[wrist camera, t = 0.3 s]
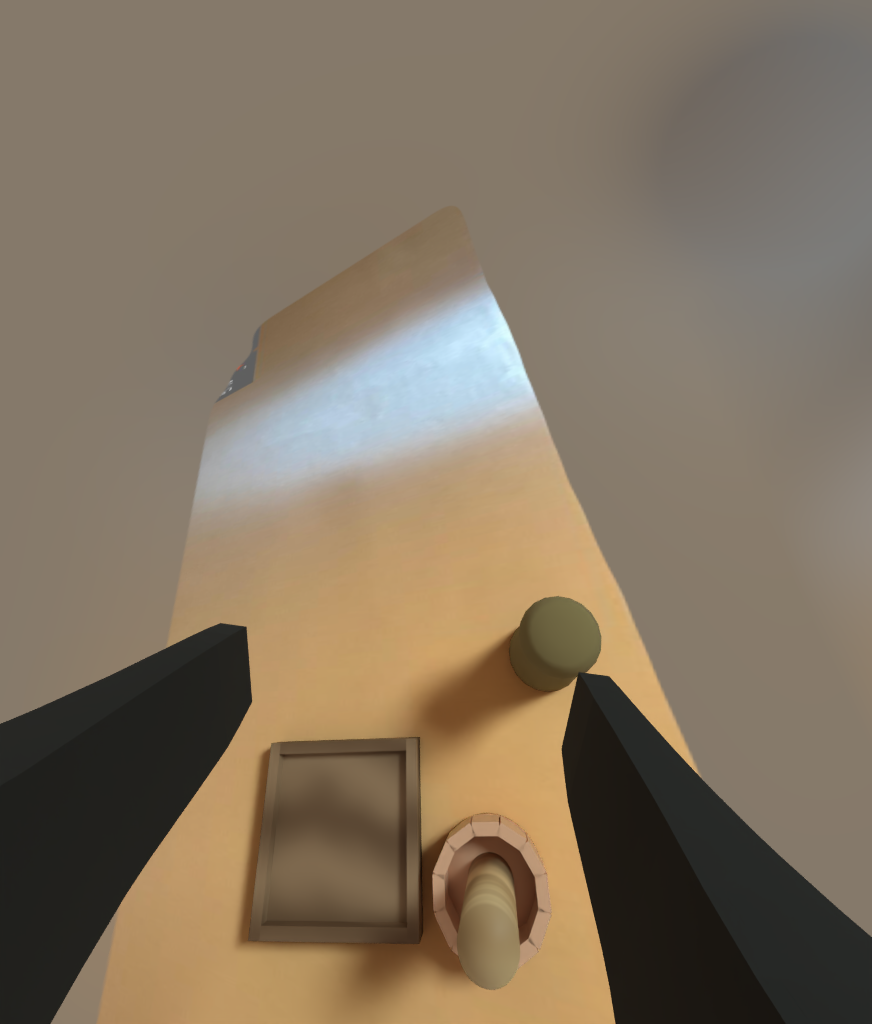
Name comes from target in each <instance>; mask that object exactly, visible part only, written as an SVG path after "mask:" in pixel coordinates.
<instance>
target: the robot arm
mask: <svg viewBox="0 0 872 1024" xmlns="http://www.w3.org/2000/svg"><path fill="white" fill-rule="evenodd" d="M251 703H252V694H251V681H250V668H249V654H248V641H247V628H246V627H244V626H237V625H229V624H222V623H220V624H217V625H215V626H213V627H210V628H208V629H206V630H203V631H201V632H199V633H197V634H195V635H193V636H190V637H188V638H186V639H184V640H182V641H180V642H178V643H176V644H174V645H172V646H170V647H168V648H166V649H164V650H162V651H160V652H158V653H156V654H153V655H151V656H149V657H147V658H145V659H143V660H141V661H139V662H137V663H135V664H133V665H131V666H129V667H127V668H125V669H123V670H121V671H119V672H116V673H114V674H112V675H110V676H108V677H106V678H104V679H102V680H99V681H97V682H95V683H93V684H91V685H89V686H86V687H84V688H82V689H79V690H77V691H75V692H73V693H71V694H68V695H66V696H64V697H62V698H60V699H57V700H55V701H53V702H51V703H49V704H46V705H44V706H42V707H40V708H37V709H35V710H33V711H30V712H28V713H26V714H23V715H21V716H18V717H16V718H14V719H11V720H9V721H6V722H4V723H1V724H0V1024H50V1023H51V1022H52V1020H53V1018H54V1016H55V1015H56V1013H57V1011H58V1009H59V1008H60V1006H61V1004H62V1002H63V1001H64V999H65V997H66V995H67V994H68V992H69V990H70V988H71V987H72V985H73V983H74V981H75V980H76V978H77V976H78V974H79V973H80V971H81V969H82V967H83V966H84V964H85V962H86V961H87V959H88V957H89V956H90V954H91V952H92V950H93V949H94V947H95V946H96V944H97V942H98V940H99V939H100V937H101V936H102V934H103V932H104V930H105V929H106V927H107V925H108V924H109V922H110V920H111V919H112V917H113V915H114V914H115V912H116V910H117V909H118V907H119V905H120V904H121V902H122V900H123V899H124V897H125V895H126V894H127V892H128V891H129V889H130V888H131V886H132V885H133V883H134V882H135V880H136V879H137V877H138V875H139V874H140V872H141V871H142V869H143V868H144V866H145V865H146V863H147V862H148V860H149V859H150V858H151V856H152V855H153V853H154V852H155V851H156V849H157V848H158V846H159V845H160V843H161V842H162V841H163V839H164V838H165V836H166V835H167V834H168V832H169V831H170V829H171V828H172V826H173V825H174V824H175V822H176V821H177V819H178V818H179V816H180V815H181V814H182V812H183V811H184V809H185V808H186V807H187V805H188V804H189V802H190V801H191V799H192V798H193V797H194V795H195V794H196V792H197V791H198V790H199V788H200V787H201V785H202V784H203V782H204V781H205V779H206V778H207V777H208V775H209V774H210V772H211V771H212V769H213V768H214V766H215V765H216V764H217V762H218V761H219V759H220V758H221V756H222V755H223V753H224V752H225V750H226V749H227V747H228V746H229V744H230V742H231V740H232V738H233V737H234V735H235V733H236V731H237V730H238V728H239V726H240V724H241V722H242V720H243V718H244V716H245V714H246V713H247V711H248V709H249V707H250V705H251ZM562 757H563V766H564V774H565V783H566V790H567V798H568V804H569V809H570V813H571V818H572V822H573V827H574V831H575V835H576V840H577V844H578V849H579V853H580V857H581V861H582V866H583V870H584V874H585V878H586V883H587V887H588V891H589V896H590V900H591V904H592V908H593V913H594V917H595V921H596V925H597V930H598V934H599V938H600V943H601V947H602V951H603V956H604V961H605V966H606V971H607V976H608V981H609V986H610V992H611V998H612V1004H613V1010H614V1017H615V1023H616V1024H872V937H871V936H870V935H868V934H867V933H866V932H865V931H864V930H863V929H861V928H860V927H859V926H858V925H857V924H856V923H854V922H853V921H852V920H851V919H850V918H849V917H847V916H846V915H845V914H844V913H843V912H842V911H840V910H839V909H838V908H837V907H836V906H835V905H834V904H833V903H831V902H830V901H829V900H828V899H827V898H826V897H825V896H824V895H822V894H821V893H820V892H819V891H818V890H817V889H816V888H815V887H814V886H813V885H811V884H810V883H809V882H808V881H807V880H806V879H805V878H804V877H803V876H802V875H800V874H799V873H798V872H797V871H796V870H795V869H794V868H793V867H791V866H790V865H789V864H788V863H787V862H786V861H785V860H784V859H783V858H781V857H780V856H779V855H778V854H777V853H776V852H775V851H774V850H773V849H772V848H771V847H770V846H769V845H768V844H767V843H766V842H765V841H764V840H762V839H761V838H760V837H759V836H758V835H757V834H756V833H755V832H754V831H753V830H752V829H751V828H750V827H749V826H748V825H747V824H746V823H745V822H744V821H743V820H742V819H741V818H740V817H739V816H738V815H737V814H736V813H735V812H734V811H733V810H732V809H731V808H730V807H729V806H728V805H727V804H726V803H725V802H724V801H723V800H722V799H721V798H720V797H719V796H718V795H717V794H716V793H715V792H714V791H713V790H712V789H711V788H710V787H709V786H708V785H707V784H706V783H705V782H704V781H703V780H702V779H701V778H700V777H699V775H698V774H697V773H696V772H695V771H694V770H693V769H692V768H691V767H690V766H689V765H688V764H687V763H686V762H685V761H684V760H683V758H682V757H681V756H680V755H679V754H678V753H677V752H676V751H675V750H674V749H673V748H672V747H671V745H670V744H669V743H668V742H667V741H666V740H665V739H664V738H663V737H662V735H661V734H660V733H659V732H658V731H657V730H656V729H655V728H654V726H653V725H652V724H651V723H650V722H649V721H648V720H647V719H646V717H645V716H644V715H643V714H642V713H641V712H640V711H639V710H638V708H637V707H636V706H635V705H634V704H633V703H632V702H631V700H630V699H629V698H628V697H627V696H626V695H625V694H624V692H623V691H622V690H621V689H620V688H619V687H618V686H617V685H616V683H615V682H614V681H613V680H612V679H611V678H610V677H609V676H603V675H596V674H588V673H581V672H579V673H578V677H577V682H576V686H575V691H574V695H573V700H572V704H571V709H570V713H569V718H568V722H567V727H566V731H565V736H564V740H563V745H562Z"/></svg>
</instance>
